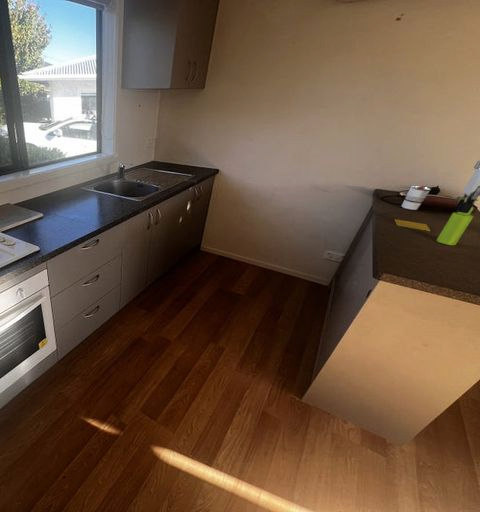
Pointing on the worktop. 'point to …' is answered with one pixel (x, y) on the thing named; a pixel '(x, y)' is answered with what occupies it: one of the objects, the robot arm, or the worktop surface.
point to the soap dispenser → (455, 227)
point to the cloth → (412, 225)
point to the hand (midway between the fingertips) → (461, 210)
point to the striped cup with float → (415, 197)
